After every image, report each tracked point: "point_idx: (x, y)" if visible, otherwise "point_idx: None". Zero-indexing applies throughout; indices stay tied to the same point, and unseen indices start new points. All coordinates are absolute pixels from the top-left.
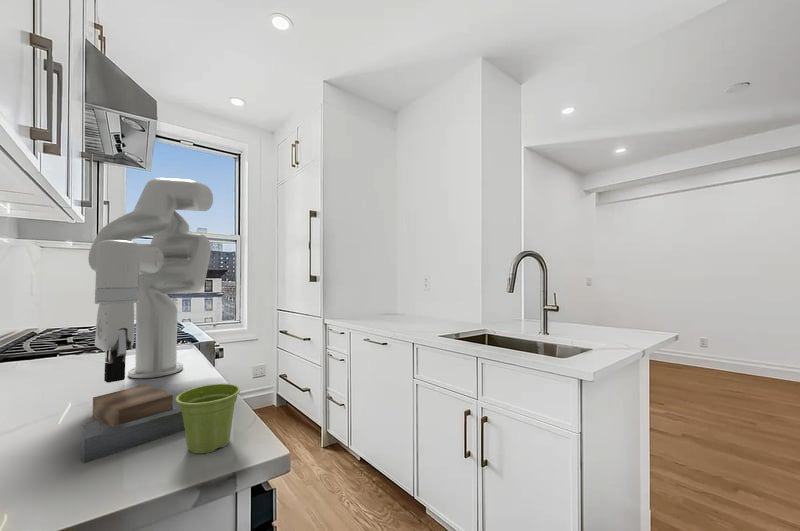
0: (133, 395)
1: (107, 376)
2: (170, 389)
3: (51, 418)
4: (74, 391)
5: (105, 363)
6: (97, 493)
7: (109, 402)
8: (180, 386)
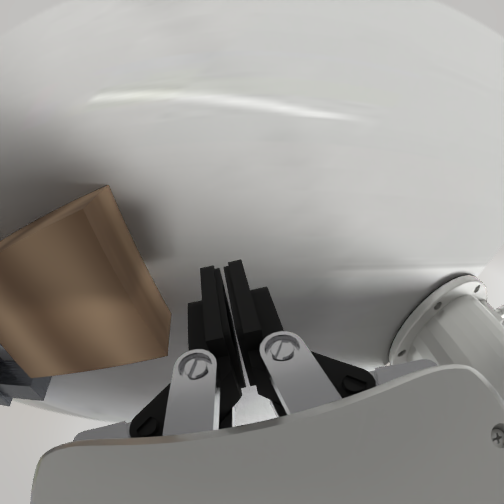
0: (50, 320)
1: (203, 289)
2: None
3: (173, 63)
4: (451, 147)
5: (243, 333)
6: None
7: (6, 262)
8: None
